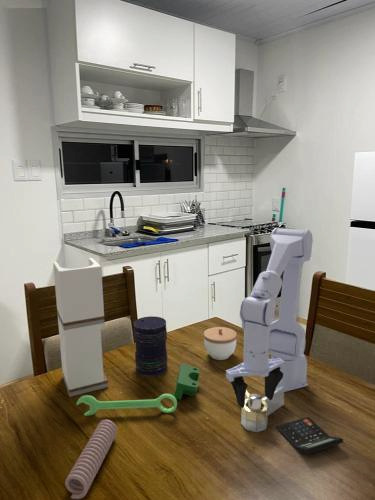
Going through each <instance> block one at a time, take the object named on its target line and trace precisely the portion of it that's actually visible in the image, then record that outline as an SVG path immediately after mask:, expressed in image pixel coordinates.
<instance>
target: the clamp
mask: <svg viewBox="0 0 375 500" xmlns="http://www.w3.org/2000/svg"><path fill="white" fill-rule="evenodd" d="M199 377H200V368H199V367H197V366H192V365H189V364H184V363H180V365H179V369H178V373H177V376H176V382H175V388H174V392H173V396H174V397H175V398H176V400H182V397H183V394H184V395H187V396H191V397H196V395H197V394H196V393H197V391H198V390H199V389H198V388H199V386H200V385H199V384H200V382H199V381H198V380H199Z"/></svg>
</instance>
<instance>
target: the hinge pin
mask: <svg viewBox="0 0 375 500" xmlns="http://www.w3.org/2000/svg"><path fill="white" fill-rule="evenodd" d="M249 394H250V395H249V396H248V409H251V410H255V411H258V410H261V399H262V396H261V395H260V394H257V393H249Z"/></svg>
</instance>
